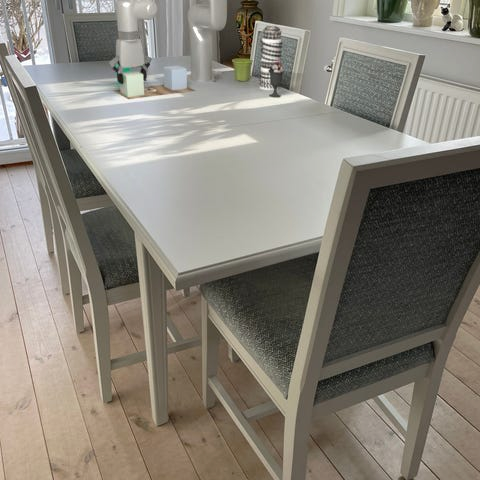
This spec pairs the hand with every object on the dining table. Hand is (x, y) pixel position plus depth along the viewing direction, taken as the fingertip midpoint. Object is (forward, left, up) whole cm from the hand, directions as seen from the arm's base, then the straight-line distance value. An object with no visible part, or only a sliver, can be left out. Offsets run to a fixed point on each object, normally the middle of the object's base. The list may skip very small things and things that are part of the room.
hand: (132, 81), depth 202 cm
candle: (-4, -18, -6) cm, 19 cm away
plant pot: (-56, -5, -6) cm, 56 cm away
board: (-10, -1, -6) cm, 11 cm away
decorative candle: (-58, +13, -6) cm, 60 cm away
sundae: (-52, +25, -6) cm, 58 cm away
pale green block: (0, 0, -5) cm, 5 cm away
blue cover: (-20, -2, -5) cm, 21 cm away
